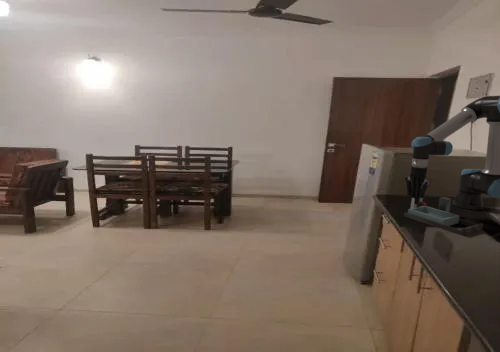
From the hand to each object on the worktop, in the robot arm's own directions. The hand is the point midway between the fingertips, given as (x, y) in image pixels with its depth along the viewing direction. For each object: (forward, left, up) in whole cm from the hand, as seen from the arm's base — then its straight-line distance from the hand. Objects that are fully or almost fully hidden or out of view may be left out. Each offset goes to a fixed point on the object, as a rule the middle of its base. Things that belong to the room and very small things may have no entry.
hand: (413, 209), depth 168 cm
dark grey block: (-15, +8, -3) cm, 17 cm away
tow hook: (-24, -12, -4) cm, 27 cm away
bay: (0, +15, -3) cm, 16 cm away
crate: (0, +11, -2) cm, 11 cm away
